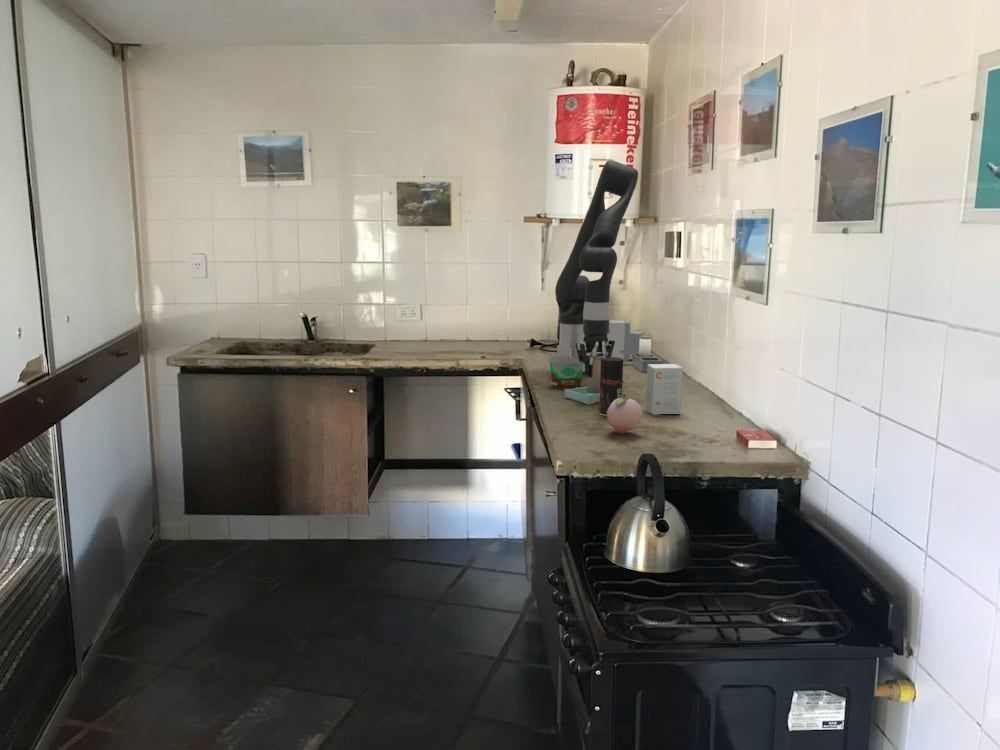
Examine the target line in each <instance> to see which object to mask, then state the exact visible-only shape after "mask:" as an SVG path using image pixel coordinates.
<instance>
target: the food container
mask: <svg viewBox="0 0 1000 750" xmlns="http://www.w3.org/2000/svg"><path fill="white" fill-rule="evenodd" d="M547 362H548V363H549V366H550V380H551V381H550V382H551V387H552V386H553V387H552V388H555V387H557V388H556V389H560V388H576V387H580V386H581V387H582V382H583V381H582V378H583V374H582V373H583V365H584V363H582V362H580V361H579V358H578V357H571V356H564V357H557V356H554V355H549V356H548V359H547Z"/></svg>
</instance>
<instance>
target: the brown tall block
mask: <svg viewBox="0 0 1000 750" xmlns="http://www.w3.org/2000/svg"><path fill="white" fill-rule="evenodd" d="M601 358H602V356H601V355H595V357H594V358H593V362H592V365H593V367H592V377H587V386H588V387H587V386H586V387H587V392H588V393H592V394H598V393H600V371H601ZM588 360H589V359H588Z"/></svg>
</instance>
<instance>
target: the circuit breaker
mask: <svg viewBox="0 0 1000 750" xmlns="http://www.w3.org/2000/svg"><path fill="white" fill-rule="evenodd" d="M607 336H608V339H609V340H613V341H615V344H614V348H613V352H612V355H611V357H615V358H622V359H623V362H628V361H630V355H632V354H639V342H640V336H643V330H639V331H638V330H631V320H620V319H619V320H616V319H614V320H613V319H609V333H608V334H607ZM607 355H608V352H607Z"/></svg>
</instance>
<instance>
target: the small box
mask: <svg viewBox="0 0 1000 750" xmlns="http://www.w3.org/2000/svg"><path fill="white" fill-rule="evenodd" d="M683 369H684V367H682V366H681V365H678V364H676V363H663V364H648V365H647V373H646V391H645V394H646V397H645V411H646V410H647V411H649V412H650V413H651V414H680V415H681V413H682V412H681V411H682V410H681V406H682V394H683V393H682V390H683V389H682V387H683V372H684V371H683ZM647 411H646V412H647ZM649 412H648V413H649ZM650 413H649V414H650ZM651 414H650V415H651Z"/></svg>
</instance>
